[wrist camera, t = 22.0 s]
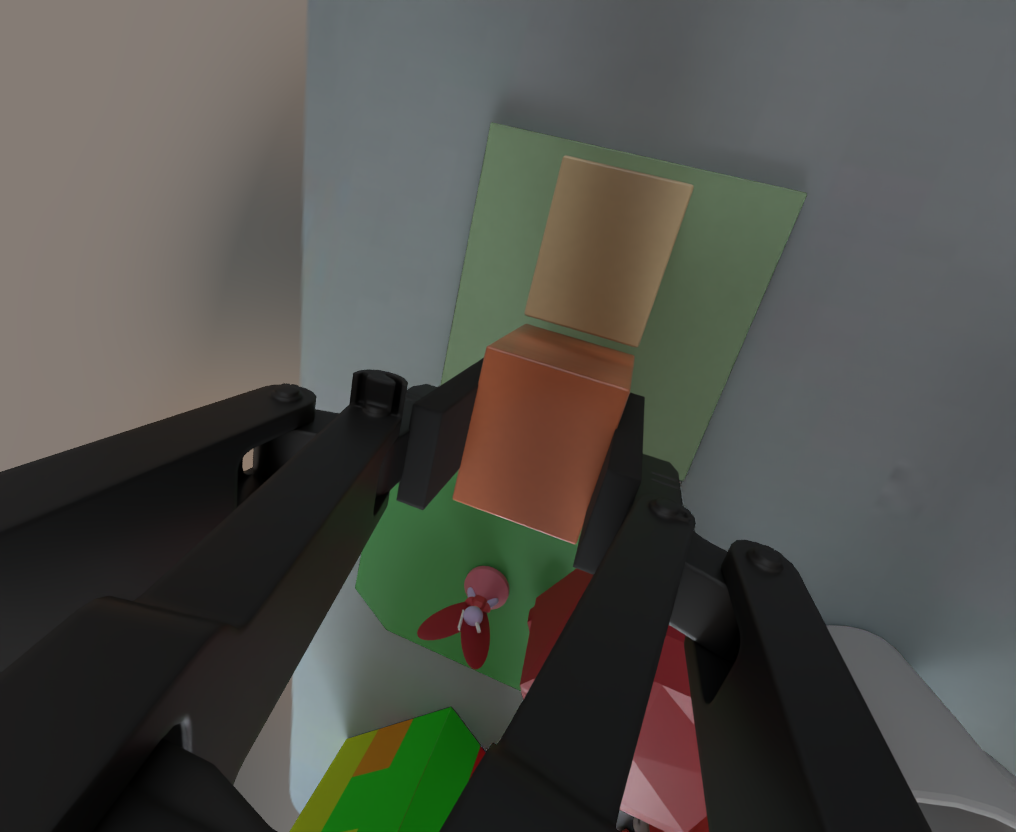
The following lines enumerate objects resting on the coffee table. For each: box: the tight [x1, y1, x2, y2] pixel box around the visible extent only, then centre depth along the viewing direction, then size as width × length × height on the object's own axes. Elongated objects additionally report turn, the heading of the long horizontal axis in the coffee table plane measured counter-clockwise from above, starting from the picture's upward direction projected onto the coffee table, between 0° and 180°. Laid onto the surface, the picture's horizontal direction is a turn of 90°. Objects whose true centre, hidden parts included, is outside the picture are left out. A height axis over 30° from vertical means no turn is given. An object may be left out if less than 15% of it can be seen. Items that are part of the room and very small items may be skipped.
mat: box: [440, 123, 807, 481], centre depth 21 cm, size 12×12×1 cm
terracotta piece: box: [453, 324, 635, 544], centre depth 16 cm, size 4×5×4 cm
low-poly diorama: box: [355, 471, 707, 832], centre depth 22 cm, size 15×20×9 cm
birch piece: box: [524, 155, 694, 347], centre depth 17 cm, size 4×5×4 cm
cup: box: [827, 625, 1016, 832], centre depth 19 cm, size 8×10×8 cm
